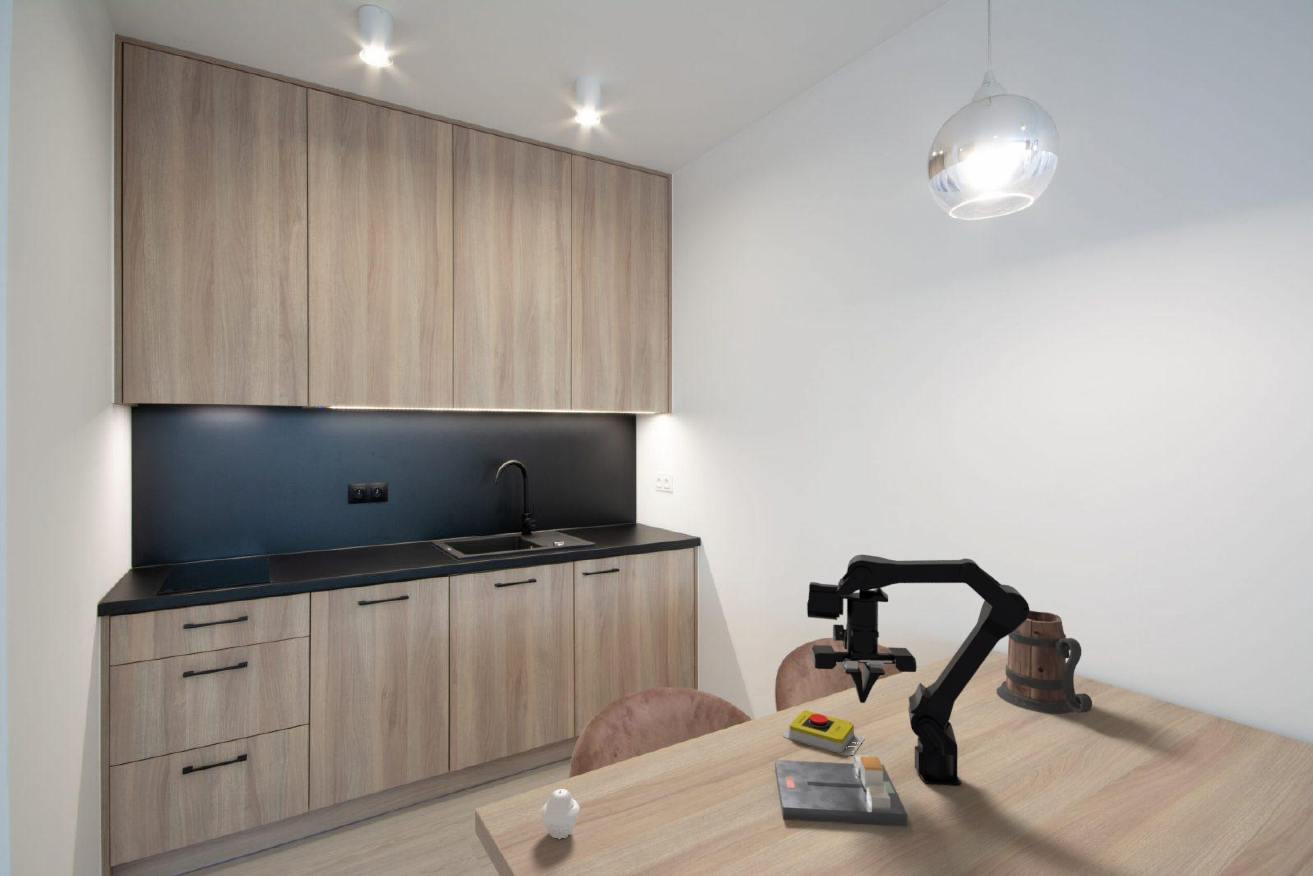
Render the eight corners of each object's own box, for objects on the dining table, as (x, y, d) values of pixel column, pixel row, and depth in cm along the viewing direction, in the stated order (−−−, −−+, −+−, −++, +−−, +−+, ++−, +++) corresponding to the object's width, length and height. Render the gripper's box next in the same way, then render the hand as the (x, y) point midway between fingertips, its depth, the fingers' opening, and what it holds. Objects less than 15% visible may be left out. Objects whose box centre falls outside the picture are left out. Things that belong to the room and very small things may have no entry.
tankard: (980, 686, 159) (981, 607, 158) (1040, 681, 161) (1041, 603, 161) (1053, 730, 136) (1053, 637, 135) (1122, 724, 138) (1122, 633, 138)
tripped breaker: (877, 779, 113) (877, 757, 113) (883, 790, 109) (883, 768, 109) (860, 778, 113) (860, 756, 113) (865, 790, 109) (865, 767, 109)
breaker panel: (883, 775, 118) (883, 754, 118) (907, 826, 103) (907, 802, 103) (775, 770, 120) (775, 749, 120) (783, 819, 105) (783, 795, 105)
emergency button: (797, 702, 141) (865, 719, 132) (797, 721, 141) (865, 740, 133) (781, 718, 133) (852, 738, 125) (781, 739, 133) (852, 760, 125)
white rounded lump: (546, 850, 98) (545, 805, 98) (537, 827, 103) (537, 784, 103) (584, 839, 100) (584, 796, 100) (574, 817, 106) (573, 776, 106)
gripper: (900, 611, 129) (900, 687, 129) (807, 608, 131) (807, 683, 131) (917, 628, 118) (917, 711, 118) (815, 625, 120) (815, 707, 120)
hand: (862, 702), depth 122 cm, fingers closed
